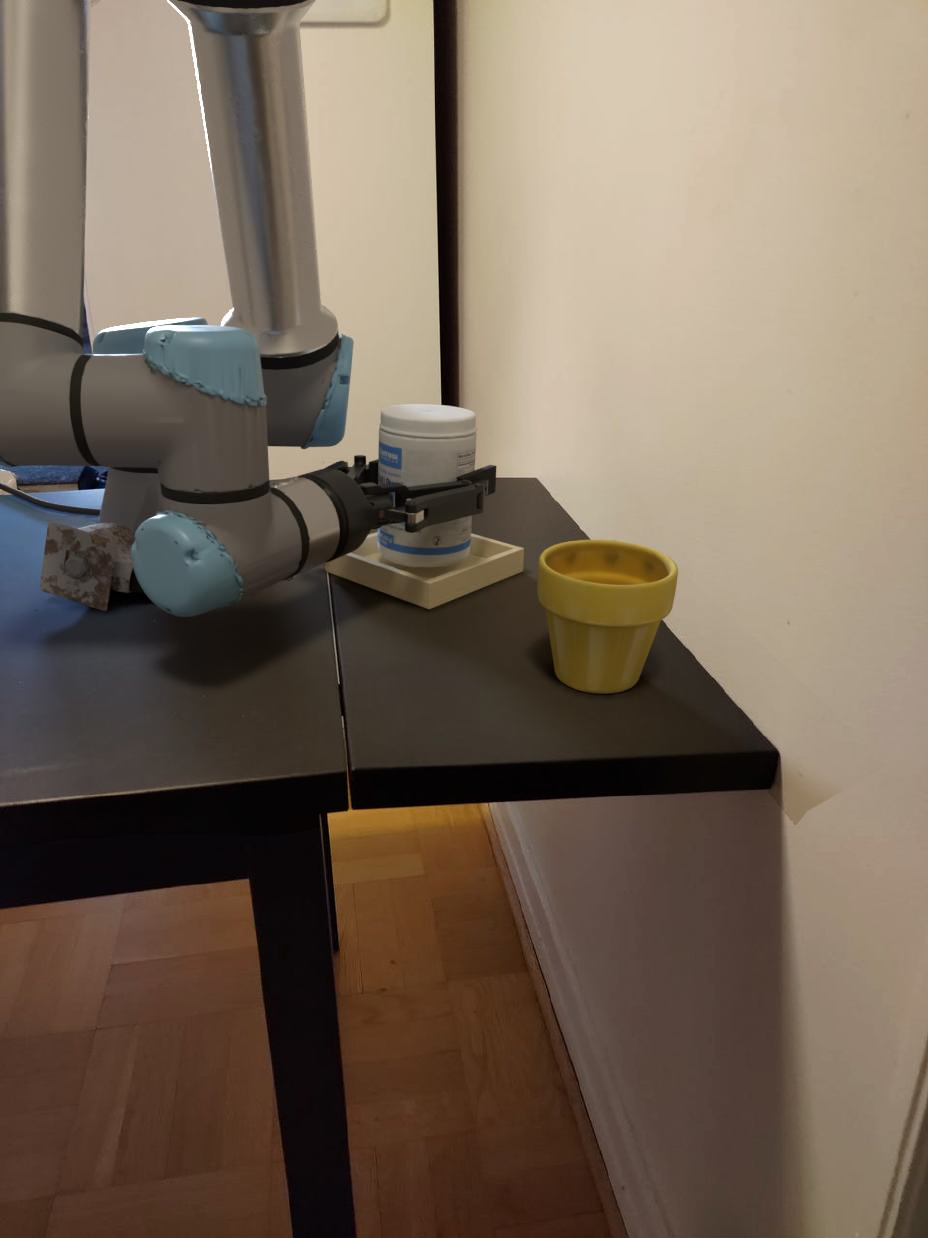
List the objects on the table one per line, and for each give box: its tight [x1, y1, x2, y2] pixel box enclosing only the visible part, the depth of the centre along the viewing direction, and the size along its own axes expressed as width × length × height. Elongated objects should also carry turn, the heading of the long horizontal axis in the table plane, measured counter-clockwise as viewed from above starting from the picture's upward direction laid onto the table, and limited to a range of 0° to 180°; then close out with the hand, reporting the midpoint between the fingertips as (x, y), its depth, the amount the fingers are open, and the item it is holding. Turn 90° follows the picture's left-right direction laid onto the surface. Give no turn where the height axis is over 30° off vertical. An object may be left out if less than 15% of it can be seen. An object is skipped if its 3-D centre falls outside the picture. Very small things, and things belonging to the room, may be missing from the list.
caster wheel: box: [39, 520, 146, 612], centre depth 80 cm, size 7×11×10 cm
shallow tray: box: [324, 531, 525, 610], centre depth 88 cm, size 15×15×3 cm
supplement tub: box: [377, 403, 478, 568], centre depth 85 cm, size 10×10×15 cm
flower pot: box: [536, 539, 679, 695], centre depth 66 cm, size 10×10×10 cm
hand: (449, 471), depth 88 cm, fingers closed on supplement tub, 10 cm apart
